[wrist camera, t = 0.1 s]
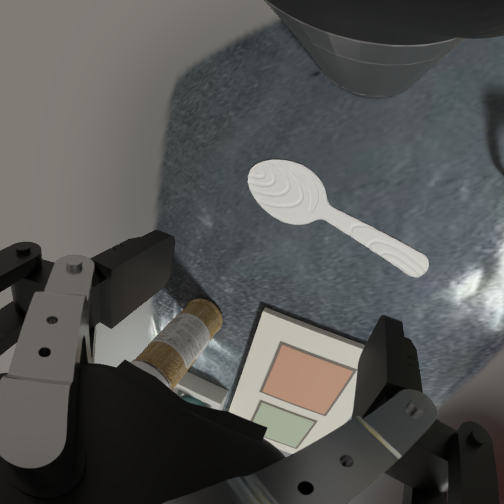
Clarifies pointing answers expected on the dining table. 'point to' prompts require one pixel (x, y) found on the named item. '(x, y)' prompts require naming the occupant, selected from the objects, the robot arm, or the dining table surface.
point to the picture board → (297, 381)
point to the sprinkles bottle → (180, 342)
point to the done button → (193, 400)
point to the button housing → (201, 390)
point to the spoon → (323, 211)
